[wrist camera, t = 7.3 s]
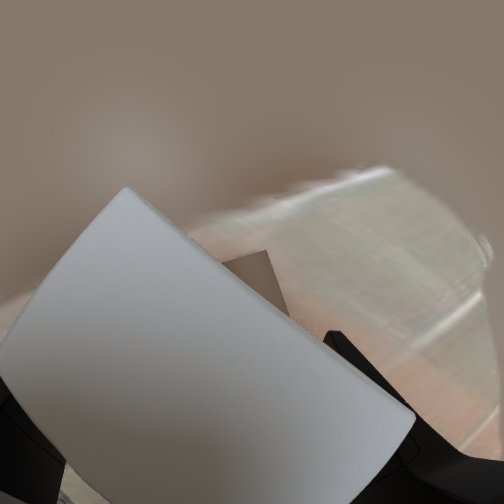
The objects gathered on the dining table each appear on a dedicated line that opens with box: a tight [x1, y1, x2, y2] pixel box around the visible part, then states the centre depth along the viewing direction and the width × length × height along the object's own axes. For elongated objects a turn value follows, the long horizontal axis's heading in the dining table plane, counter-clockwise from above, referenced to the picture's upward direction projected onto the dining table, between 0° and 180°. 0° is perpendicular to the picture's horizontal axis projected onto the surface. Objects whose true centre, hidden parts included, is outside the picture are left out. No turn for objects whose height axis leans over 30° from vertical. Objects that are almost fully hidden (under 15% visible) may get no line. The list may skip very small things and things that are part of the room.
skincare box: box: [0, 186, 416, 504], centre depth 9 cm, size 6×4×12 cm
